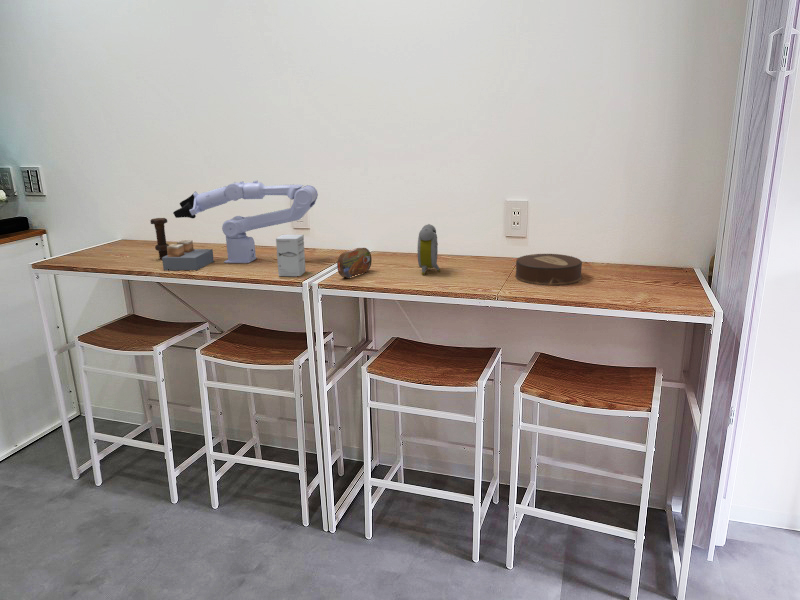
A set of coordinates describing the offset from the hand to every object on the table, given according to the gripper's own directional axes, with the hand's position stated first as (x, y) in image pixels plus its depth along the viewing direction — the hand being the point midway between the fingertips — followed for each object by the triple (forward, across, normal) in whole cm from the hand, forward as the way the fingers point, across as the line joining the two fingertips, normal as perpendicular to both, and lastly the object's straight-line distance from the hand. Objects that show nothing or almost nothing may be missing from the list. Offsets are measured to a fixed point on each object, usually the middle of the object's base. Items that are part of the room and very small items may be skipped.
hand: (177, 210), depth 226 cm
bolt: (+14, +1, +16) cm, 21 cm away
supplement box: (-38, +28, +24) cm, 53 cm away
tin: (-58, +31, +29) cm, 72 cm away
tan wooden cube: (+2, +8, +13) cm, 16 cm away
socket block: (0, +13, +16) cm, 21 cm away
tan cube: (+2, +14, +11) cm, 18 cm away
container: (-117, +39, +44) cm, 131 cm away
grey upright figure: (-82, +29, +36) cm, 94 cm away
